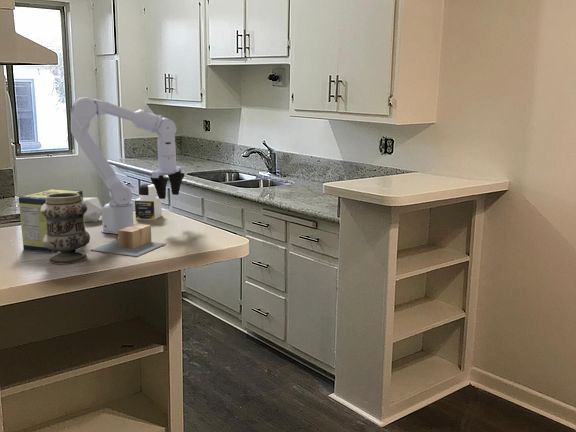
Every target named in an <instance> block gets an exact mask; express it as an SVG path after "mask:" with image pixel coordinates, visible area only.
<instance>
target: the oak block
mask: <svg viewBox="0 0 576 432" xmlns="http://www.w3.org/2000/svg"><path fill="white" fill-rule="evenodd" d="M133 224H134V225H132V226H129V227H126V228H123V229H120V230H118V234H117V235H118V239H119V247H124V248H132V249H133V248H136V247H138V246H141V245H143V244H146V243H148V242H152V227H151V226H152V225H150V224H143V223H133ZM118 239H117V240H118Z"/></svg>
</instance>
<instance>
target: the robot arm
mask: <svg viewBox="0 0 576 432" xmlns="http://www.w3.org/2000/svg"><path fill="white" fill-rule="evenodd" d="M96 115H98V116H103V115H110V116H114V117H116V118H120V119H123V120H126V121H130V122H132V124H133V127H135V128H137V129H141V130H144V131H147V132H150V133H156V134H157V141H156V143H157V145H156V146H157V160H158V162H157V163H158V169H156V170H153V171H151V177H150V181H151V182H152V184H153V185H154V186H155V188H156V194H157V197H159V199H161V200H164V199H165V200H166V195H167V185H168V180H169V183H170V191H171V195H175V196H178V195H179V193H180V189H181V185H182V181H183V179H184V177H185V172H184V171H183V169H184V168H183V166H182V165H177V153H176V152H177V151H176V148H177V147H176V139H175V138H176V136H175V134H176V133H177V125H176V123H175V122H174V121H173V119H170V118H167V117H163V114H155V113H152V112H149V109H147V108H143V109H138V110H136V111H133V110H130V109H128V108H126V107H122V106H120V105H117V104H114V103H111V102H108V101H104V100H100V99H96V98H92V99H91V98H89V97H86V96H85V97H84V96H81V97H78V98H76V100H75V101H74V102H73V105H72V107H71V110H70V134H71V135H72V137H73V138H74V140H75V141H76V143H78V145H79V147H80V149H81V150H82V151H83V152H84V154H85V156H86V158H87V159H88V161H89V162H90V163H91V164H92V166H93V168H94V169H95V171H96V172H97V174H98V175H99V177H100V178H101V179H102V181H103V183H104V184H105V185H106V187H107V189H108V195H109V197H110V198H111V200H110V201H109V203H105V204H104V206H102V208H103V209H102V214H101V223H102V230H101V231H100V232H101V233H107V234H115V235H118V230H120V229H123V228H126V227H129V226H132V225H134V224H135V223H134V209H133V206H134V205H133V202H132V201H131V200H132V199H133V193H132V191H131V189H130V188H129V187H128V185H127V184H126V183H124V182H123V181H121V179H120V178H119V177H118V175H117V174H116V172H115V171H114V169H113V168H112V166H111V164H110V163H109V161H108V159H107V158H106V157H105V155H104V154H103V152H102V151H101V149H100V148H99V146H98V145H97V144H96V141H95V140H94V139H93V137H92V136H91V134H90V133H89V129H90V125H91V121H92V120H93V119H94V117H95V116H96ZM165 176H168V177H165Z"/></svg>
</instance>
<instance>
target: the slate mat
mask: <svg viewBox="0 0 576 432" xmlns="http://www.w3.org/2000/svg"><path fill="white" fill-rule="evenodd" d="M166 245H167V244H166V243H163V242H155V241H151V242H148V243H146V244H143V245H141V246H138V247H136V248H133V249H132V248H124V247H119V239H116V240H113V241H111V242H108V243H105V244H102V245H100V246H96V247H94V248H91V249H90V251H91V252H99V253H103V254H104V253H106V254H113V255H120V256H126V257H127V256H128V257H134V258H135V257H136V258H138V257H140V256H142V255H145V254H147V253H149V252H151V251H153V250H156V249H159V248H160V247H163V246H166Z"/></svg>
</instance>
